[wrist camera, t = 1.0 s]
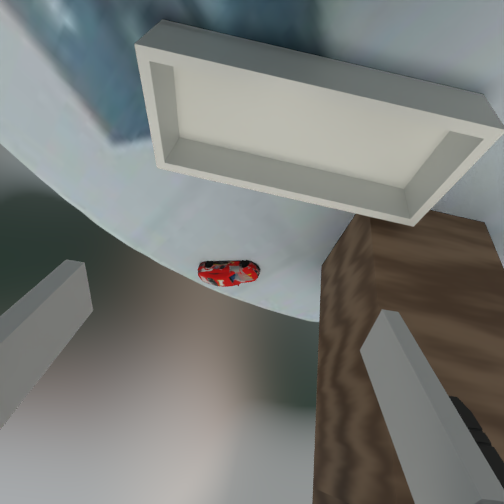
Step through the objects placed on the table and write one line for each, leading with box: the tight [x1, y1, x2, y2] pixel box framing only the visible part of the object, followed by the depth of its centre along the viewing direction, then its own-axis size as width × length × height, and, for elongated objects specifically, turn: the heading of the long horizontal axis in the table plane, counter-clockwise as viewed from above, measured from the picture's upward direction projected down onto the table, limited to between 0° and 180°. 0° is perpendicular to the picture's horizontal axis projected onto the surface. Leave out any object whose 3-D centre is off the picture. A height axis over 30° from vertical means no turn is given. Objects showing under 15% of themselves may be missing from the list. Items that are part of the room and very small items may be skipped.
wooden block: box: [313, 210, 504, 504], centre depth 33 cm, size 18×16×37 cm
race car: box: [198, 260, 260, 286], centre depth 57 cm, size 13×5×4 cm, turn 106°
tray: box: [135, 19, 504, 227], centre depth 28 cm, size 12×30×6 cm, turn 82°
